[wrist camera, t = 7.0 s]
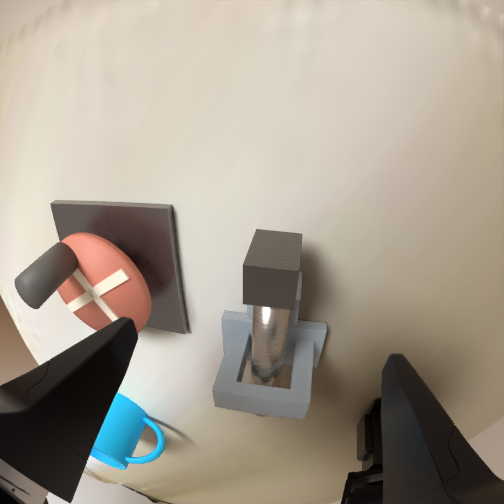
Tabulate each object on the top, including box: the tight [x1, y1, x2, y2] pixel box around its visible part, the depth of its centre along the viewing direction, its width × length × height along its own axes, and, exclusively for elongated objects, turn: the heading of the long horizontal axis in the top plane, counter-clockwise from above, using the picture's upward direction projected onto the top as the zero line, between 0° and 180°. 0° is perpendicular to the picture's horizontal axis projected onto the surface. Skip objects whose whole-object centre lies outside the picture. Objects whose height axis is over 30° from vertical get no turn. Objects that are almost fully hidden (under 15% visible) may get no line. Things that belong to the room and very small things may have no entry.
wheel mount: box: [50, 200, 188, 334], centre depth 20 cm, size 10×10×1 cm
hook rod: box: [243, 229, 302, 417], centre depth 16 cm, size 2×13×3 cm, turn 179°
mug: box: [90, 393, 166, 470], centre depth 30 cm, size 12×8×8 cm
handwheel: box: [15, 232, 152, 333], centre depth 17 cm, size 8×8×6 cm
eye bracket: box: [213, 271, 327, 419], centre depth 18 cm, size 7×8×6 cm
